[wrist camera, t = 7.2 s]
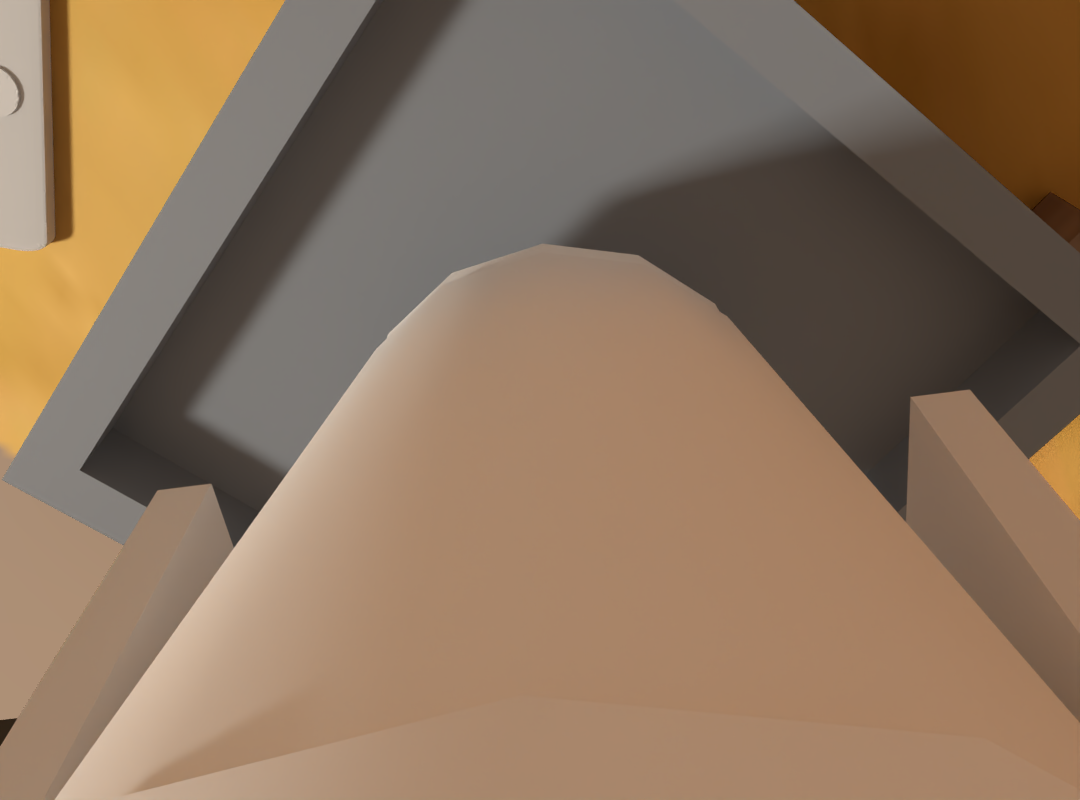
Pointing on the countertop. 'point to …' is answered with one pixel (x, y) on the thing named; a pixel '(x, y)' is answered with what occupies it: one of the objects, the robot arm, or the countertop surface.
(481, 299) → the foam cup
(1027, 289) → the charcoal stand
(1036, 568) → the robot arm
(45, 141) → the smartphone
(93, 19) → the countertop surface
